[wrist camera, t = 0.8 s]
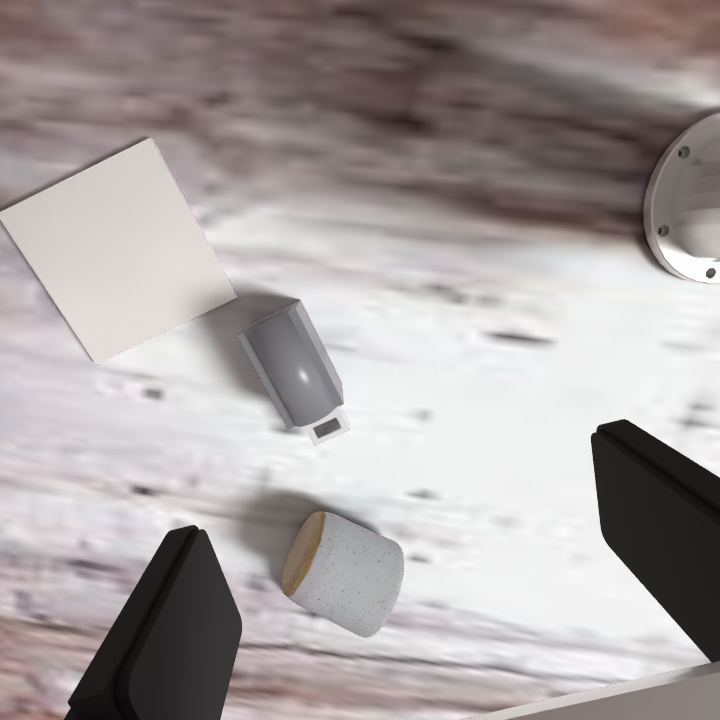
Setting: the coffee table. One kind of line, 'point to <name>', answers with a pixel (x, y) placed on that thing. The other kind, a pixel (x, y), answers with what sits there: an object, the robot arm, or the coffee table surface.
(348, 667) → the coffee table surface
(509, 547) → the coffee table surface
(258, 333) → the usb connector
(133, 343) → the felt coaster
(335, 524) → the ceramic mug
